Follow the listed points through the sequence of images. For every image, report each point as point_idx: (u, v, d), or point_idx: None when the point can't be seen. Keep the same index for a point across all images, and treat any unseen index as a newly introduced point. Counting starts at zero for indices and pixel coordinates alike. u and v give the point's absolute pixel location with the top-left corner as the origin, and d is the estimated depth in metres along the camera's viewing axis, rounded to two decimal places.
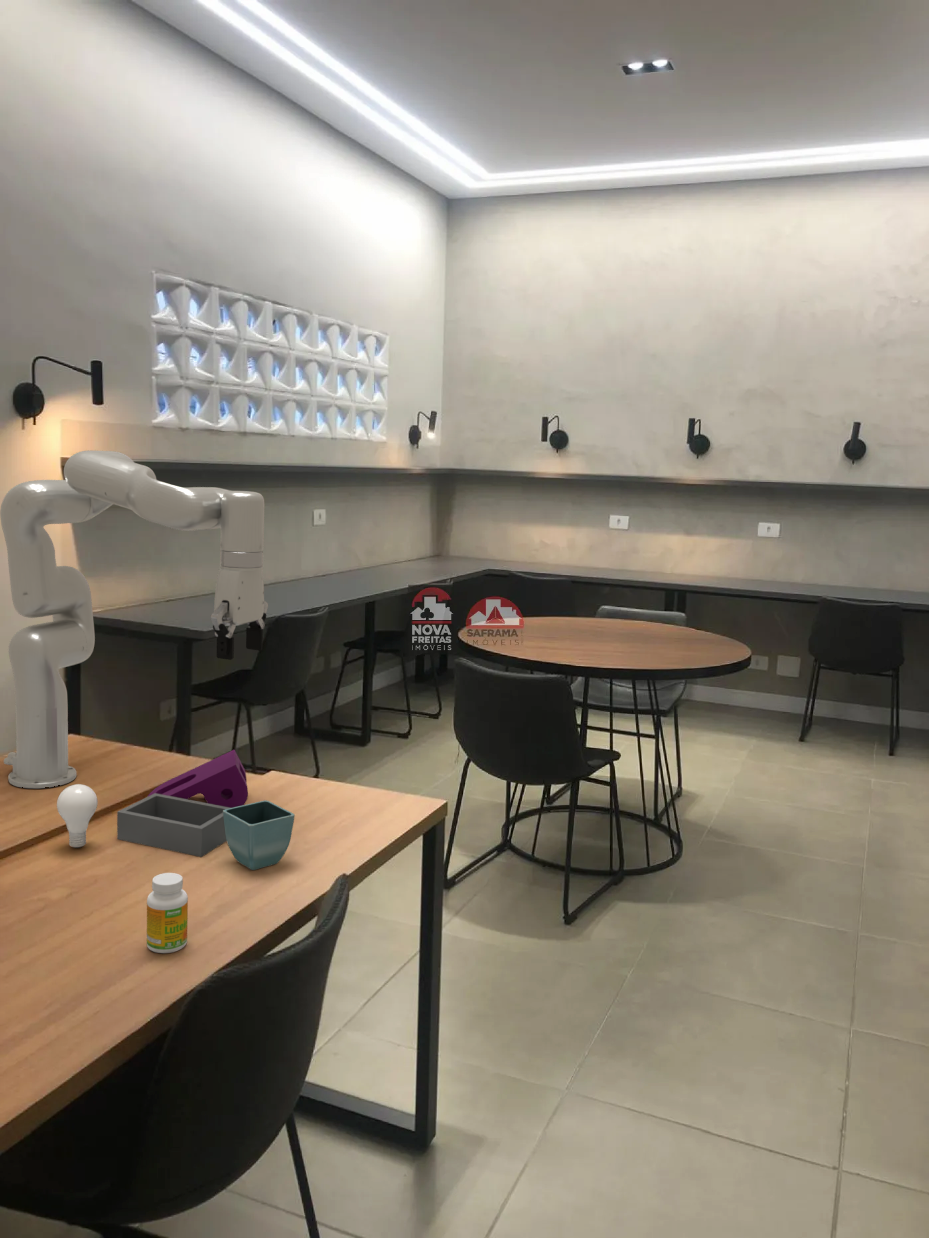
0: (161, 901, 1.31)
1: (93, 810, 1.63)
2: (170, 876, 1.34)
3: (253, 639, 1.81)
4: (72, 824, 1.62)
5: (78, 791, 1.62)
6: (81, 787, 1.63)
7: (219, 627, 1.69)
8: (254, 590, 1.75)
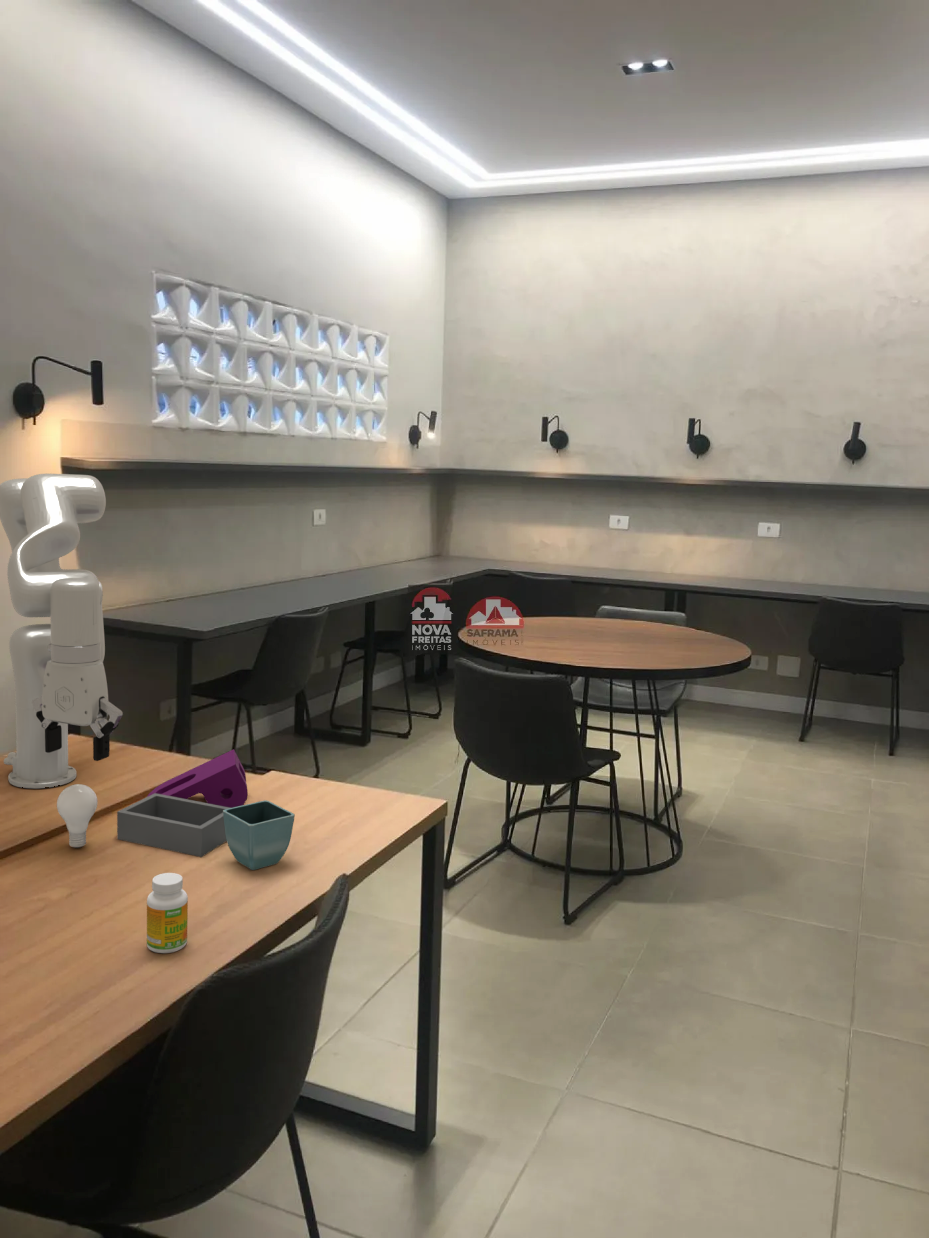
0: (161, 901, 1.31)
1: (93, 810, 1.63)
2: (170, 876, 1.34)
3: (55, 739, 1.63)
4: (72, 824, 1.62)
5: (78, 791, 1.62)
6: (81, 787, 1.63)
7: (117, 724, 1.59)
8: None
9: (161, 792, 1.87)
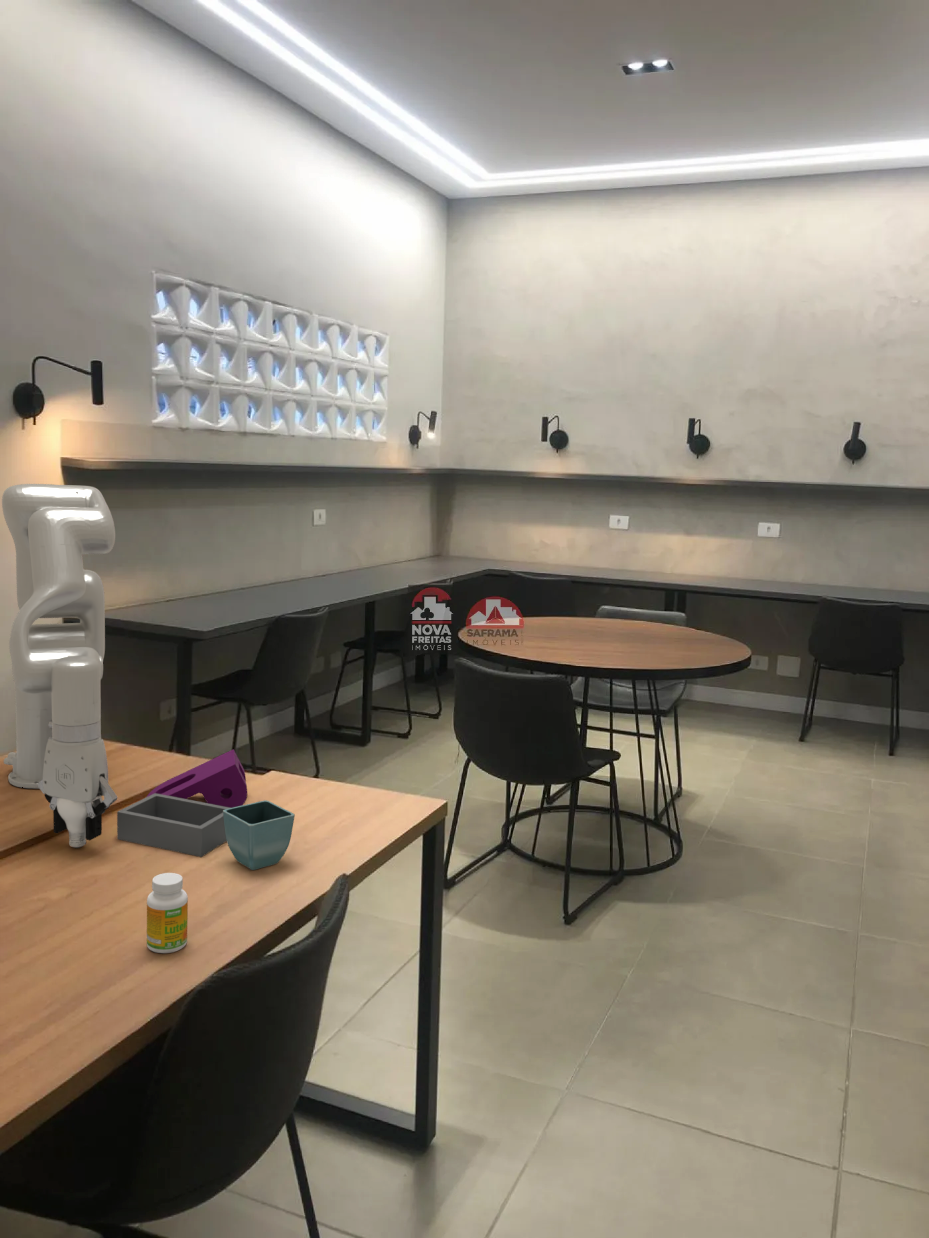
0: (161, 901, 1.31)
1: None
2: (170, 876, 1.34)
3: None
4: (72, 824, 1.62)
5: None
6: None
7: (109, 804, 1.62)
8: None
9: (161, 792, 1.87)
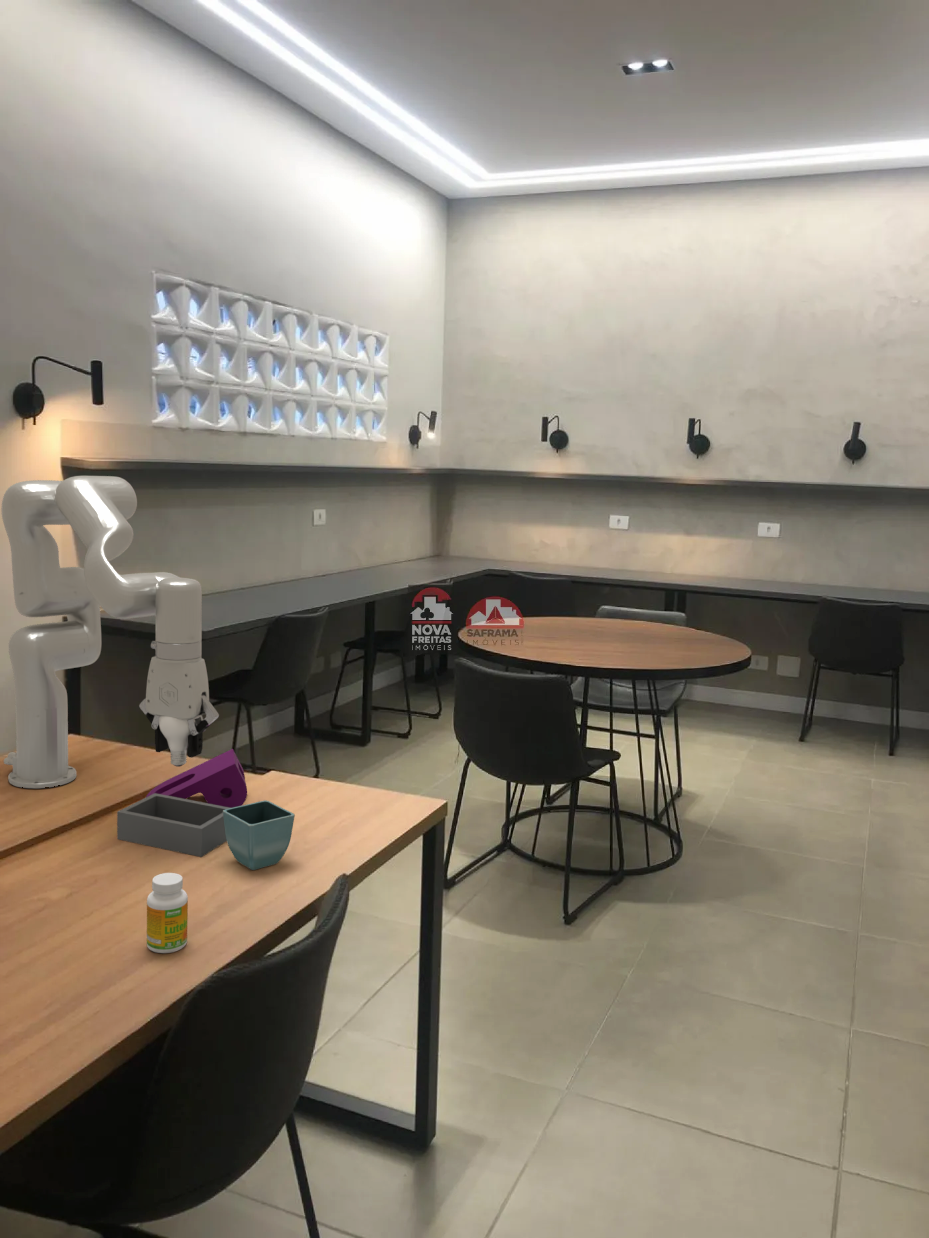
0: (161, 901, 1.31)
1: None
2: (170, 876, 1.34)
3: (164, 739, 1.69)
4: (174, 741, 1.66)
5: None
6: None
7: None
8: None
9: (160, 792, 1.87)
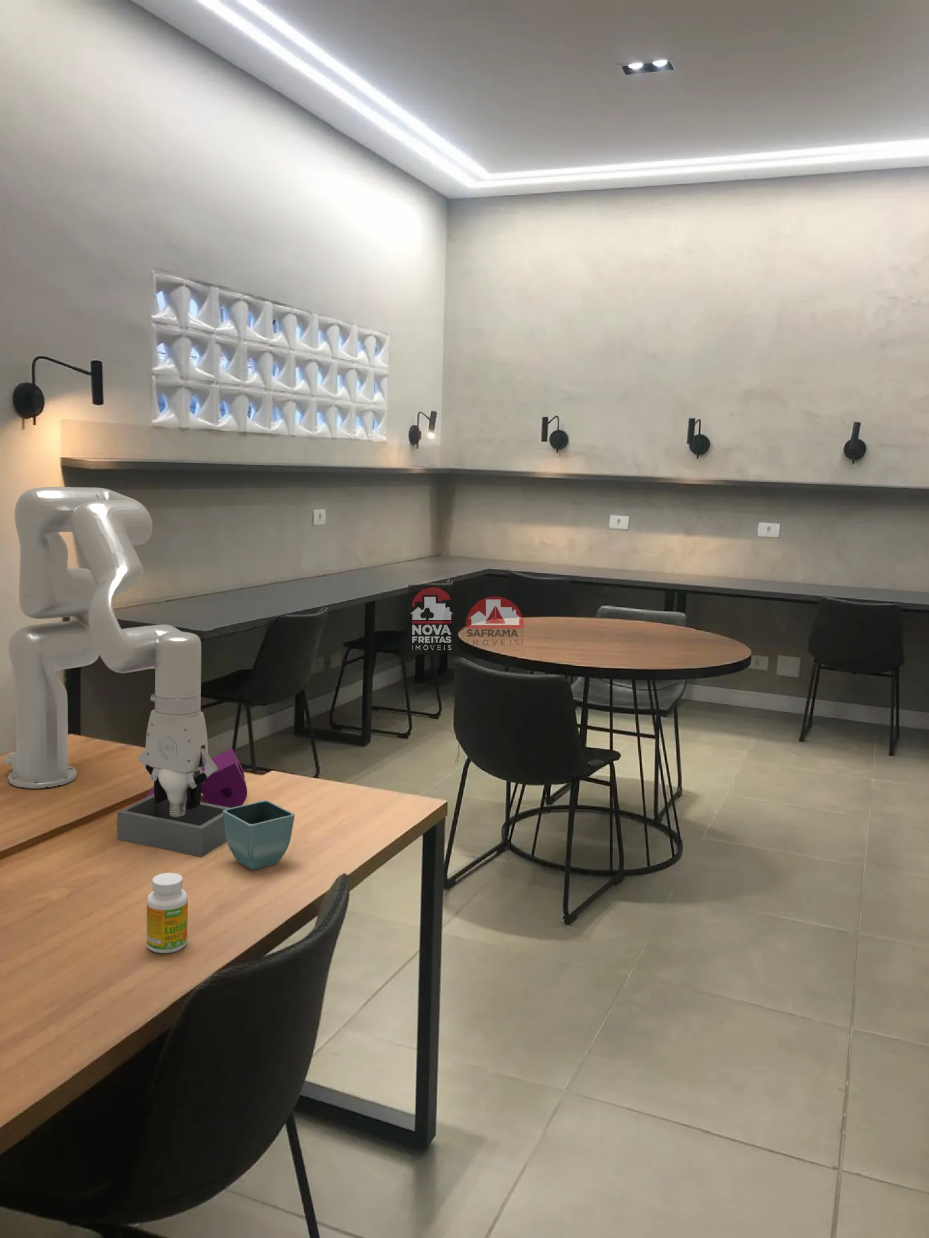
0: (161, 901, 1.31)
1: None
2: (170, 876, 1.34)
3: (163, 790, 1.71)
4: (173, 794, 1.68)
5: None
6: None
7: (209, 775, 1.68)
8: None
9: None
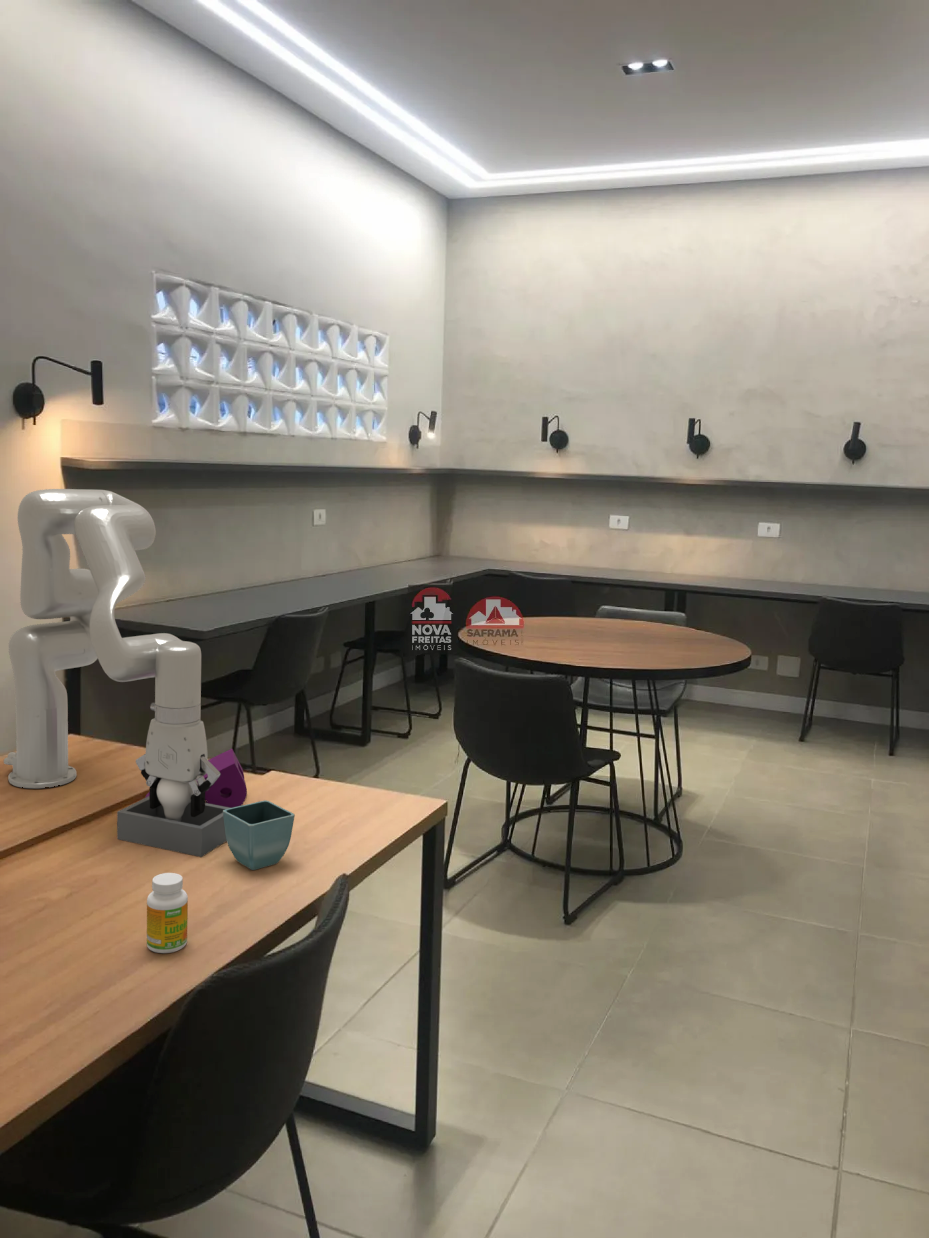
0: (161, 901, 1.31)
1: None
2: (170, 876, 1.34)
3: None
4: (170, 810, 1.69)
5: None
6: None
7: (213, 782, 1.68)
8: None
9: None
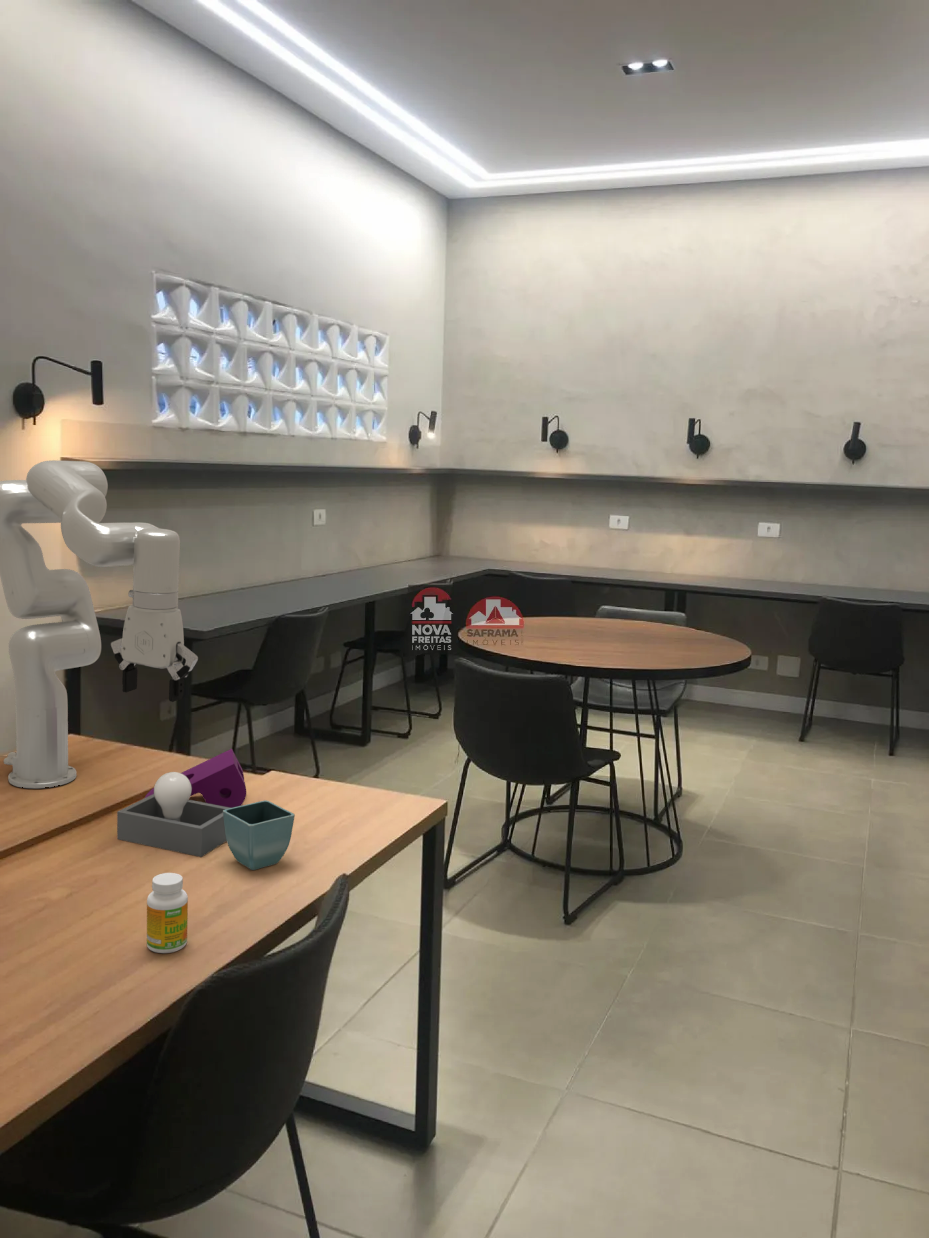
0: (161, 901, 1.31)
1: (188, 797, 1.70)
2: (170, 876, 1.34)
3: (132, 680, 1.73)
4: (168, 810, 1.69)
5: (175, 778, 1.68)
6: (177, 774, 1.69)
7: (192, 668, 1.69)
8: None
9: None
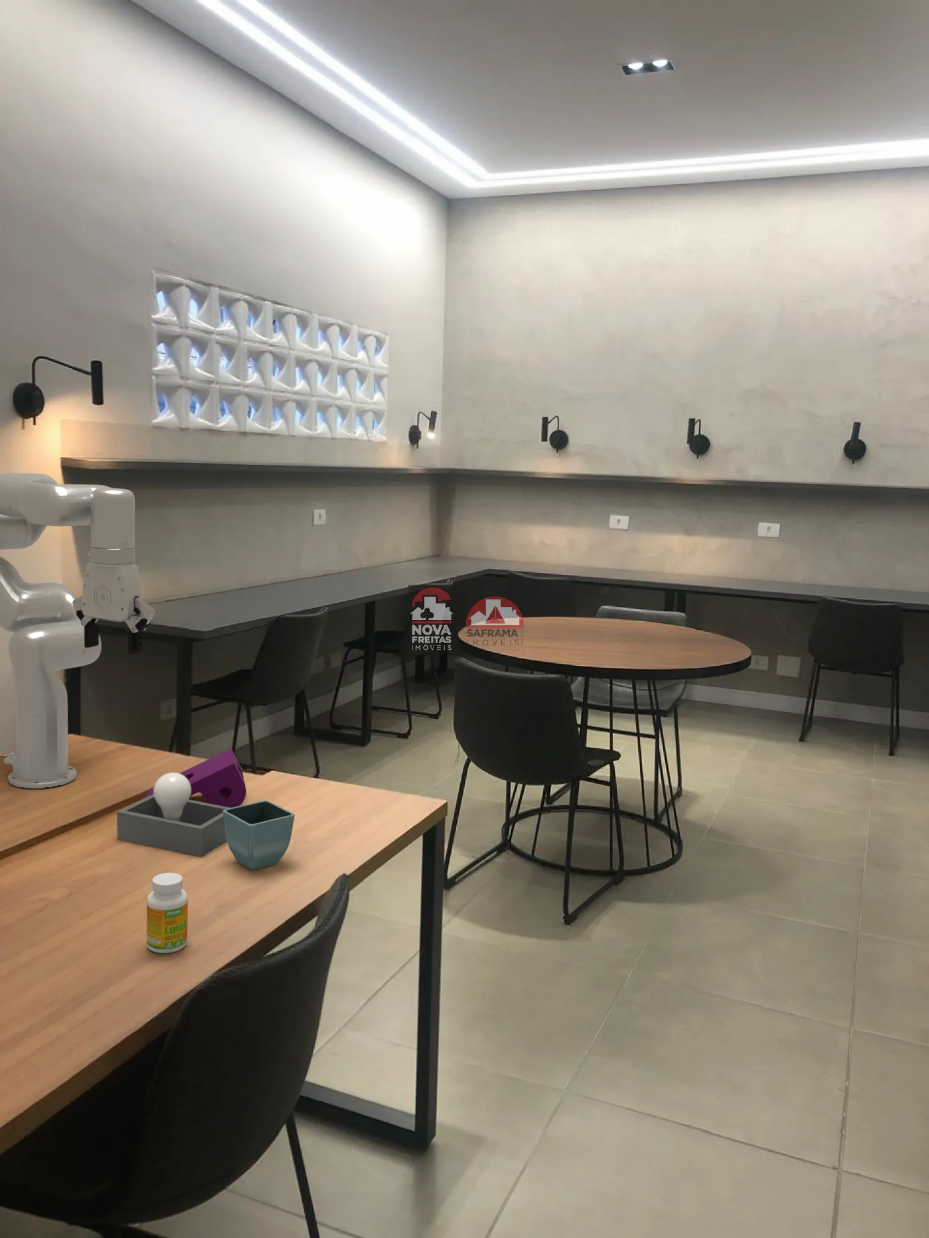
0: (161, 901, 1.31)
1: (188, 797, 1.70)
2: (170, 876, 1.34)
3: (93, 636, 1.80)
4: (168, 810, 1.69)
5: (174, 779, 1.68)
6: (176, 775, 1.69)
7: (150, 621, 1.76)
8: None
9: None
